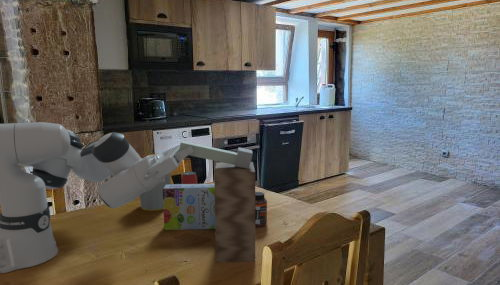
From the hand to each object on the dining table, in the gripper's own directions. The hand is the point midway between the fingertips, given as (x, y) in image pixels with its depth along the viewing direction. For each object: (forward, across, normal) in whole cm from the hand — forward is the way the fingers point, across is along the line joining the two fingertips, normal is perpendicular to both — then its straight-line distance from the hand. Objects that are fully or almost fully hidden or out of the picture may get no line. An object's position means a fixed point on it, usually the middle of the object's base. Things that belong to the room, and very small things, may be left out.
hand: (193, 146), depth 101 cm
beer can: (-23, +50, +24) cm, 60 cm away
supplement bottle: (+1, +22, +38) cm, 43 cm away
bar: (+3, 0, +6) cm, 7 cm away
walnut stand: (-6, 0, +33) cm, 34 cm away
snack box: (-18, +20, +27) cm, 38 cm away
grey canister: (-34, +43, +17) cm, 58 cm away
